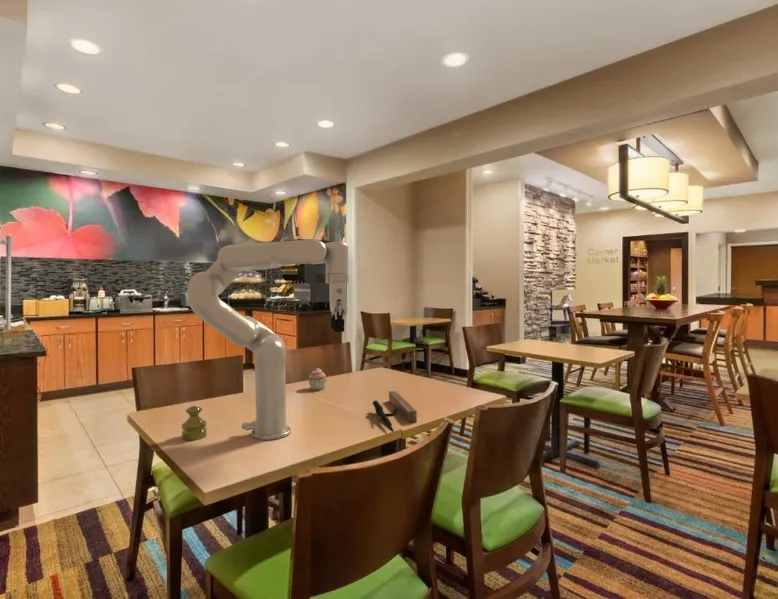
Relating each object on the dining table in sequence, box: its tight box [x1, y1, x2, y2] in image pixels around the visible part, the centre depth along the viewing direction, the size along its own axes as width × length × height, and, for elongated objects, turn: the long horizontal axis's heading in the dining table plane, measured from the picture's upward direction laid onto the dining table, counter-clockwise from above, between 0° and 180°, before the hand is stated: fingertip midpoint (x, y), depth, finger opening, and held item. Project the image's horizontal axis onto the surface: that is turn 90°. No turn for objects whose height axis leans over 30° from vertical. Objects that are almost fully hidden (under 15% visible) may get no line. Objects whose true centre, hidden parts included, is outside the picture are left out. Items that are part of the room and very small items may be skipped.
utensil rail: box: [388, 390, 418, 424], centre depth 170 cm, size 3×30×4 cm, turn 13°
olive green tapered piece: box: [181, 404, 208, 441], centre depth 142 cm, size 7×7×10 cm
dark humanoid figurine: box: [372, 400, 397, 432], centre depth 159 cm, size 8×9×25 cm
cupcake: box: [307, 367, 328, 391], centre depth 206 cm, size 9×9×10 cm
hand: (337, 330), depth 149 cm, fingers open, 9 cm apart
